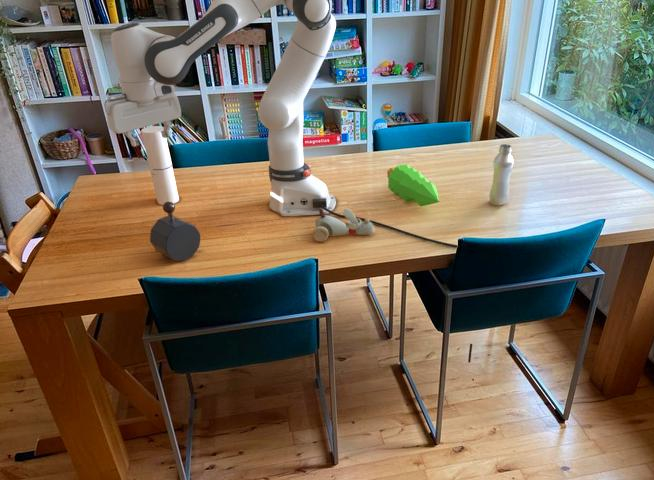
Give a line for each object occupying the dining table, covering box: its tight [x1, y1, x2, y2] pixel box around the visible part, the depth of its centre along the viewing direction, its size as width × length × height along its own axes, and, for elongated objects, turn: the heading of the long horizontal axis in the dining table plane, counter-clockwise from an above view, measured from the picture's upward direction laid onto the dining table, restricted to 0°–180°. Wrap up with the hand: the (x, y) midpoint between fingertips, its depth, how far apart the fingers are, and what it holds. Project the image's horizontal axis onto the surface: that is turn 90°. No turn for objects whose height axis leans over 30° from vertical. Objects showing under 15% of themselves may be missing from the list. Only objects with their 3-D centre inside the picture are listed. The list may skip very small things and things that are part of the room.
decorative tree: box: [386, 163, 440, 208], centre depth 184 cm, size 11×12×30 cm
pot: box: [149, 202, 201, 262], centre depth 153 cm, size 8×11×17 cm
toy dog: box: [312, 208, 375, 243], centre depth 165 cm, size 12×19×9 cm, turn 114°
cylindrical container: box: [140, 125, 180, 206], centre depth 183 cm, size 7×7×25 cm
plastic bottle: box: [488, 143, 514, 206], centre depth 180 cm, size 6×7×20 cm
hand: (151, 141), depth 153 cm, fingers open, 8 cm apart
